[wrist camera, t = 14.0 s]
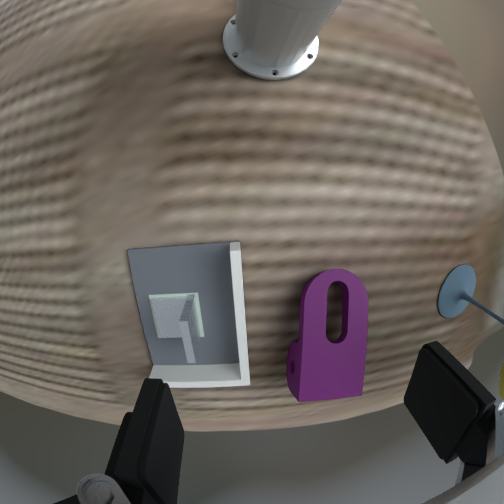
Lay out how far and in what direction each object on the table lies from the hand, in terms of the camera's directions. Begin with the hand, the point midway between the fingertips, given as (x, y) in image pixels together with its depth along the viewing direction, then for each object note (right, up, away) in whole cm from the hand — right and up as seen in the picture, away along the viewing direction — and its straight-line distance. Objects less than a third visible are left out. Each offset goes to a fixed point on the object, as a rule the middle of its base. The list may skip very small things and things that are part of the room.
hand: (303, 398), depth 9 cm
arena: (-10, -4, +30) cm, 32 cm away
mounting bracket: (+9, -6, +32) cm, 34 cm away
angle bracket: (-12, -4, +29) cm, 32 cm away
